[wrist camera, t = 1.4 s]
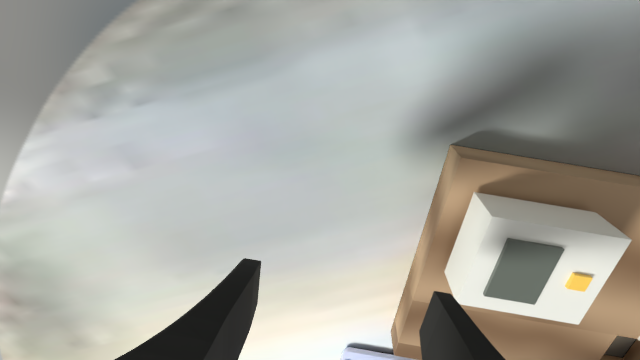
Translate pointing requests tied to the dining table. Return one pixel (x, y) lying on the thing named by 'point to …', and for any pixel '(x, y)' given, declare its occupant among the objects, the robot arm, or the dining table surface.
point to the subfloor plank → (542, 187)
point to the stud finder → (532, 258)
